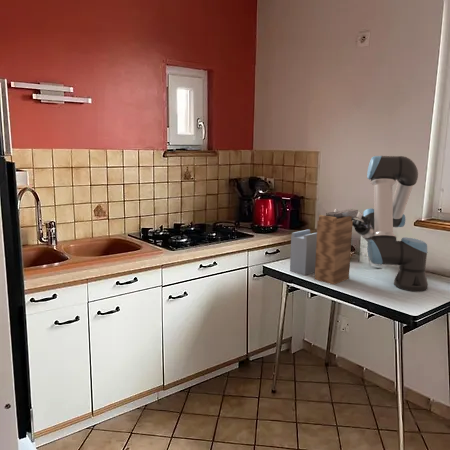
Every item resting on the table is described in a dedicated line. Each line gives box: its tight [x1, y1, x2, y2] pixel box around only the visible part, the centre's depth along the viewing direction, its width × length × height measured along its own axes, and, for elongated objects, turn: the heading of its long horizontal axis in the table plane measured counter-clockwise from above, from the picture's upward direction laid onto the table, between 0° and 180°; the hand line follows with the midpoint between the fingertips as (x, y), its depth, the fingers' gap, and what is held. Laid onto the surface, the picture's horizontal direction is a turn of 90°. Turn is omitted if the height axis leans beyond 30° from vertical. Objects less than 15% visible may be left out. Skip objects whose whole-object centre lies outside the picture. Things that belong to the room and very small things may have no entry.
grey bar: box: [325, 208, 359, 219], centre depth 229 cm, size 5×22×4 cm, turn 133°
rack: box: [289, 229, 317, 276], centre depth 243 cm, size 10×14×21 cm
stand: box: [314, 214, 354, 285], centre depth 228 cm, size 11×14×33 cm
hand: (346, 212), depth 232 cm, fingers open, 13 cm apart
